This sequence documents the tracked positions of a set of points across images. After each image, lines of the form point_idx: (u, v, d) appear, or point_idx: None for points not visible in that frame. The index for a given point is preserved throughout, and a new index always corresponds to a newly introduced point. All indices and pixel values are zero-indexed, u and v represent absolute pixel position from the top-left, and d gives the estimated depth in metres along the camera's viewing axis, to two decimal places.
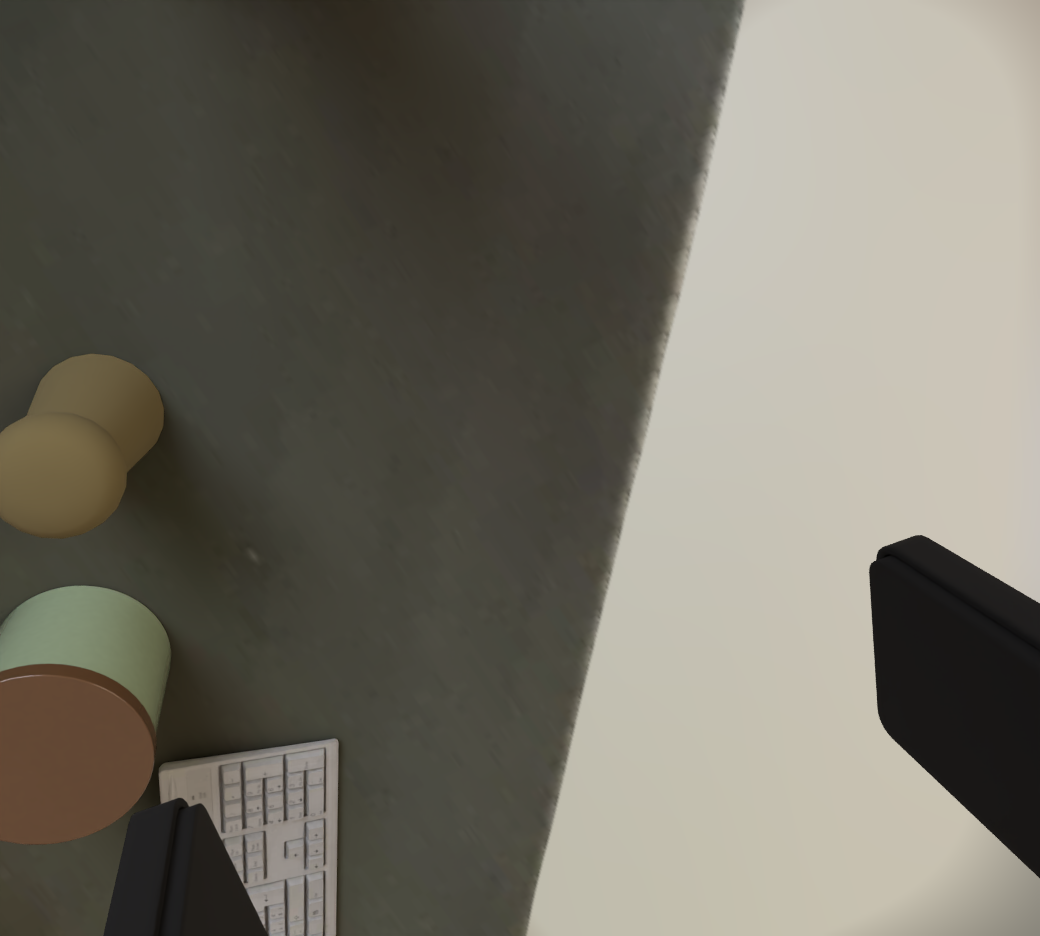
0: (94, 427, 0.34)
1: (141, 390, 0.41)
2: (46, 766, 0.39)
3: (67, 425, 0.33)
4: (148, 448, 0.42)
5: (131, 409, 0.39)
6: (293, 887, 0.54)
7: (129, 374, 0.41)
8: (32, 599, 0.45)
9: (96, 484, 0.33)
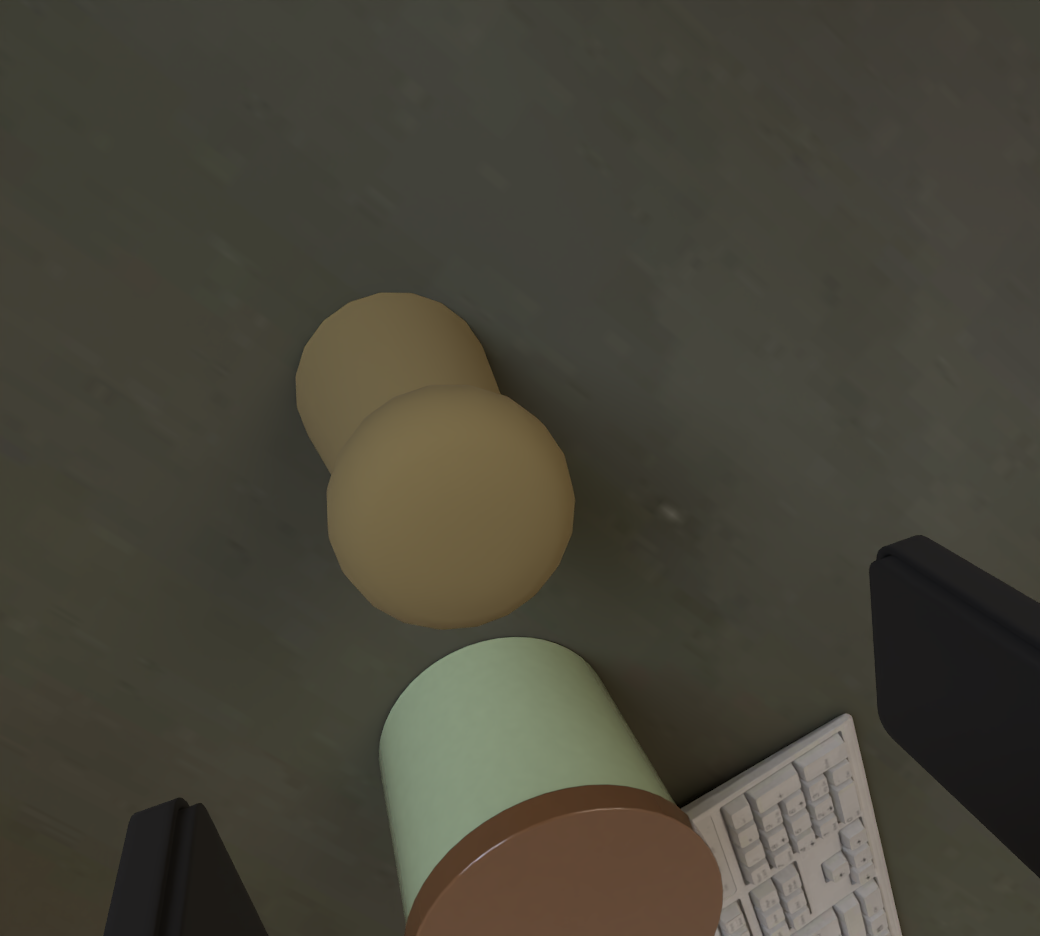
0: (485, 392, 0.17)
1: (453, 324, 0.24)
2: None
3: (450, 406, 0.16)
4: None
5: (469, 355, 0.22)
6: (848, 912, 0.39)
7: (423, 307, 0.24)
8: (407, 693, 0.30)
9: (545, 495, 0.17)
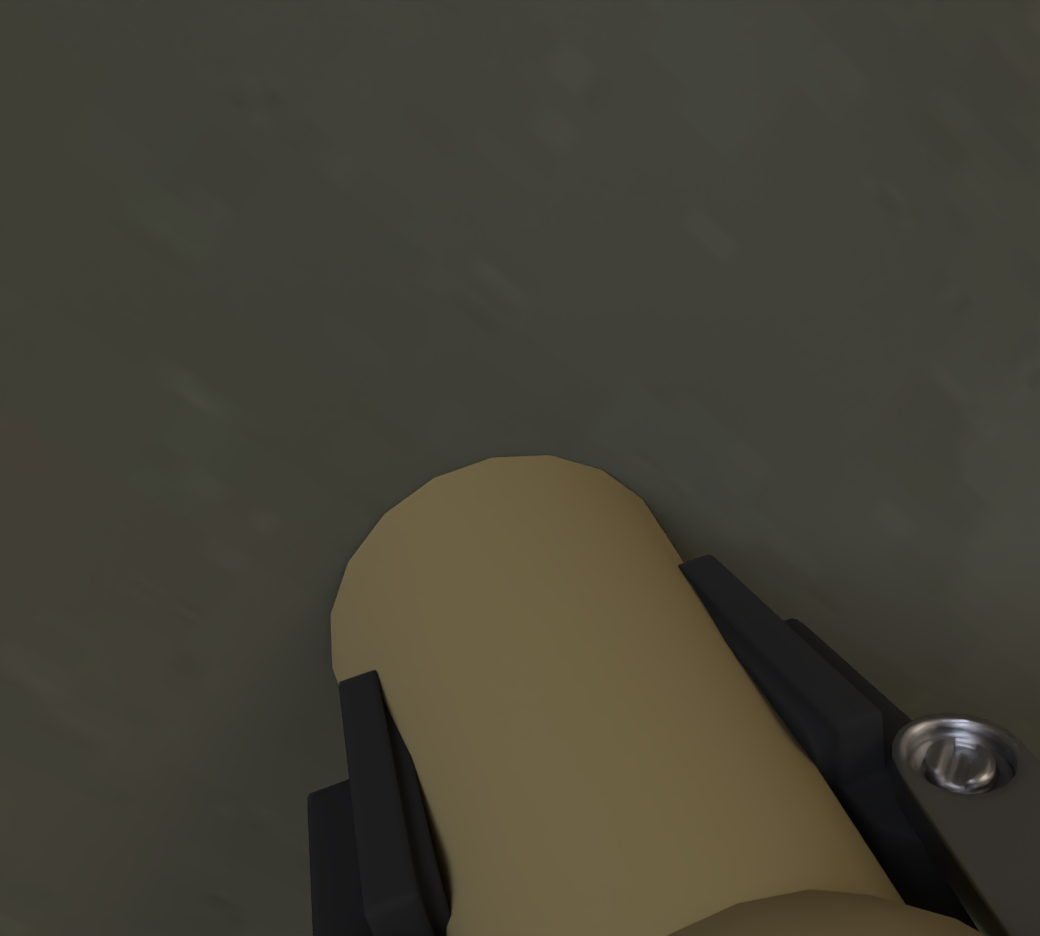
0: None
1: (643, 529, 0.12)
2: None
3: None
4: None
5: (715, 631, 0.10)
6: None
7: (584, 494, 0.12)
8: None
9: None
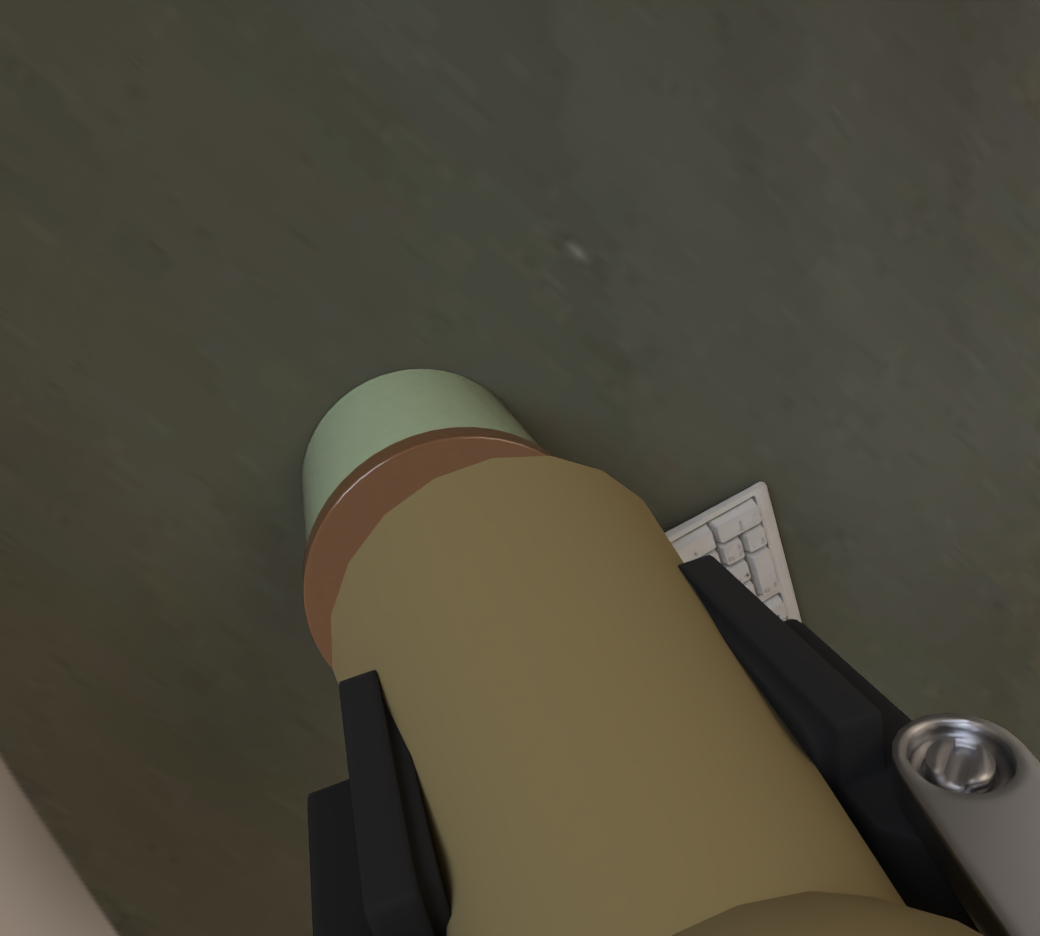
0: None
1: (644, 529, 0.12)
2: None
3: None
4: None
5: (716, 632, 0.10)
6: None
7: (584, 495, 0.12)
8: (326, 416, 0.31)
9: None
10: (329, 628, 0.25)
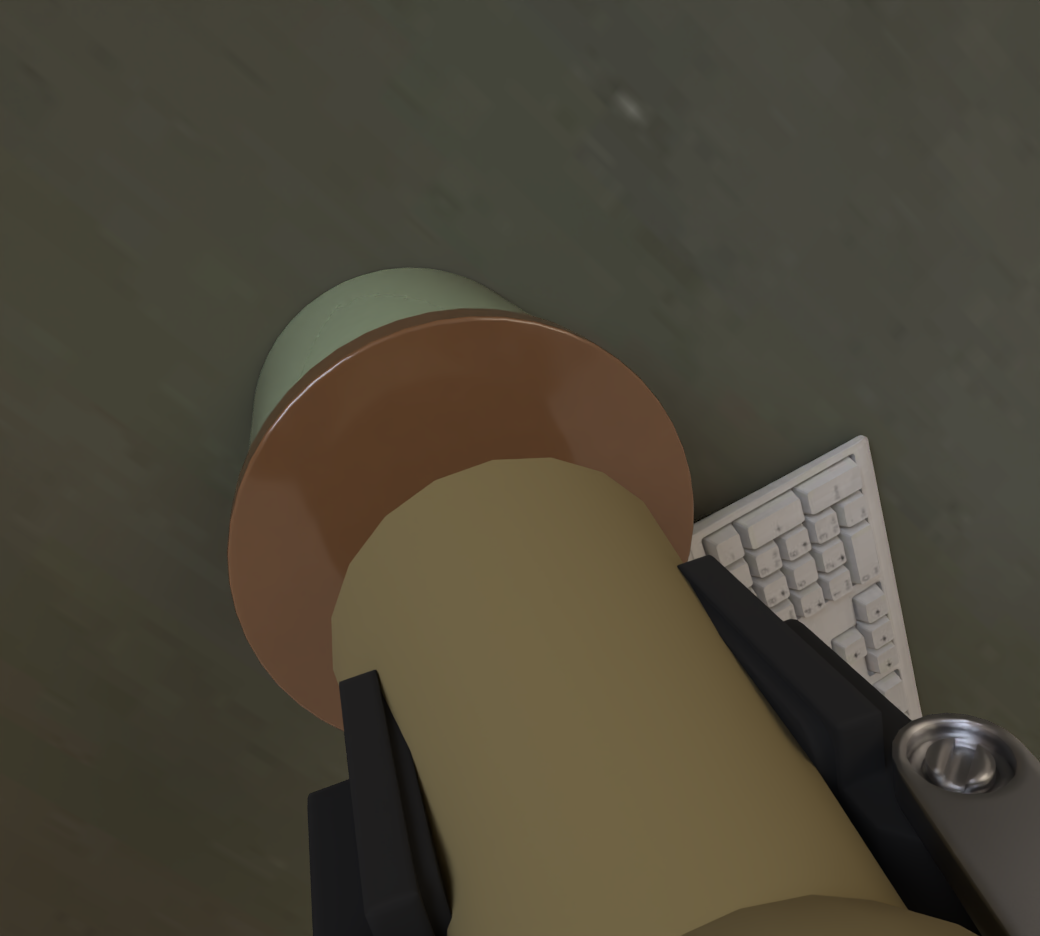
0: None
1: (644, 531, 0.12)
2: None
3: None
4: None
5: (716, 633, 0.10)
6: None
7: (585, 497, 0.12)
8: (284, 331, 0.23)
9: None
10: (270, 621, 0.16)
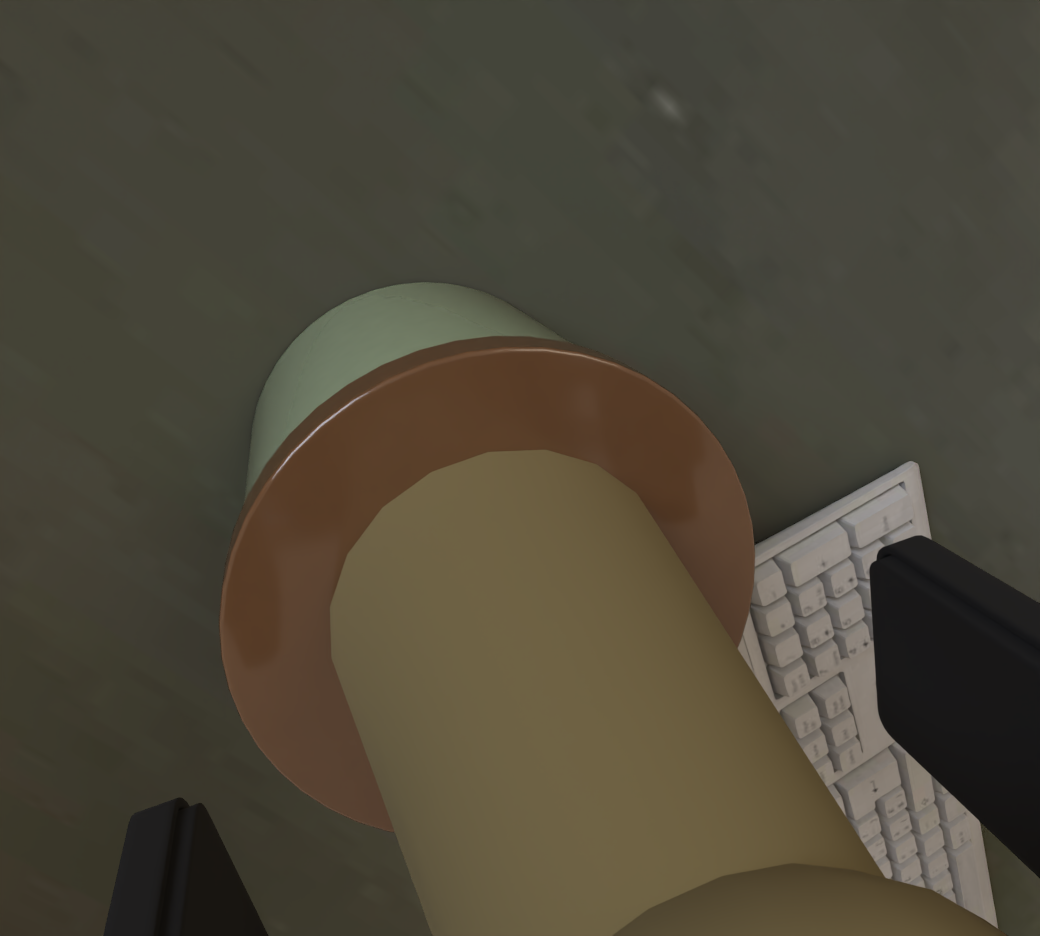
0: None
1: (637, 521, 0.12)
2: None
3: None
4: None
5: (706, 619, 0.10)
6: None
7: (578, 488, 0.13)
8: (286, 353, 0.20)
9: None
10: (270, 700, 0.14)
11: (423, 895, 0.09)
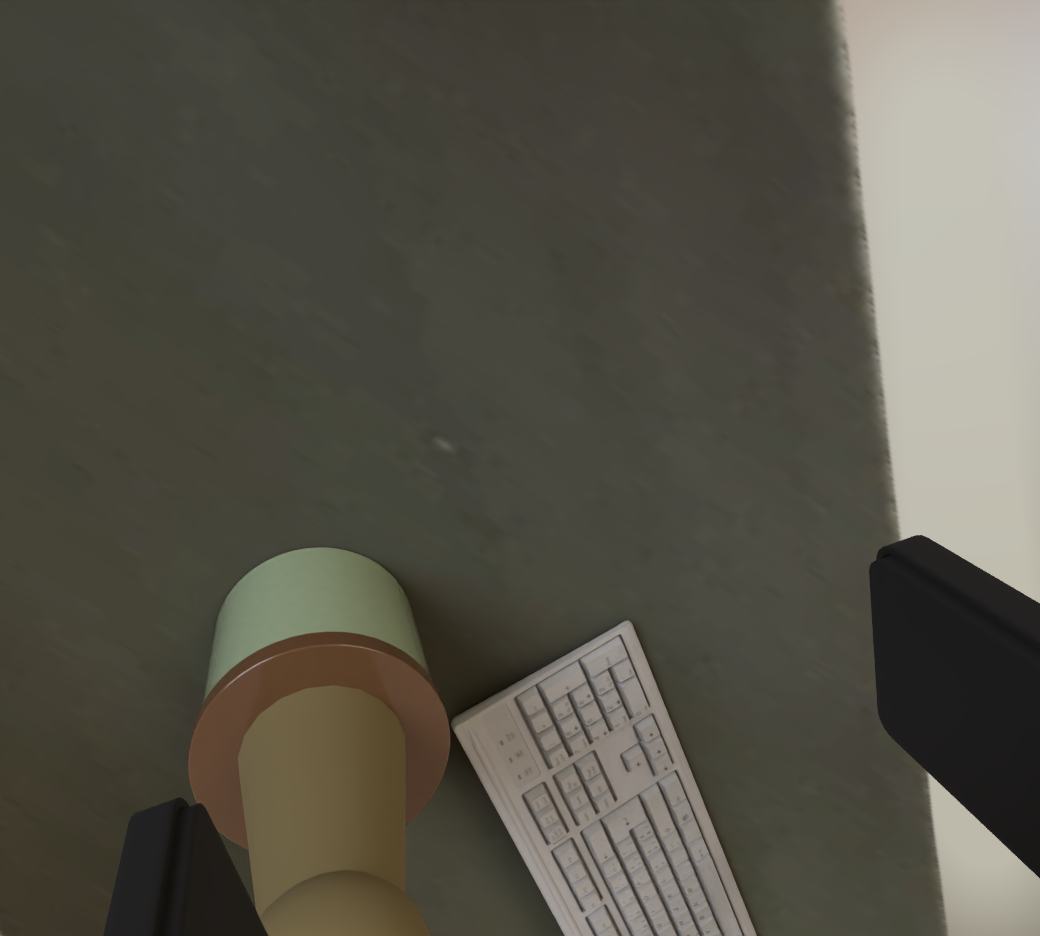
0: (356, 898, 0.22)
1: (364, 723, 0.29)
2: None
3: (323, 929, 0.21)
4: (405, 784, 0.30)
5: (371, 775, 0.27)
6: (650, 799, 0.46)
7: (340, 708, 0.29)
8: (232, 592, 0.37)
9: None
10: (212, 799, 0.30)
11: None
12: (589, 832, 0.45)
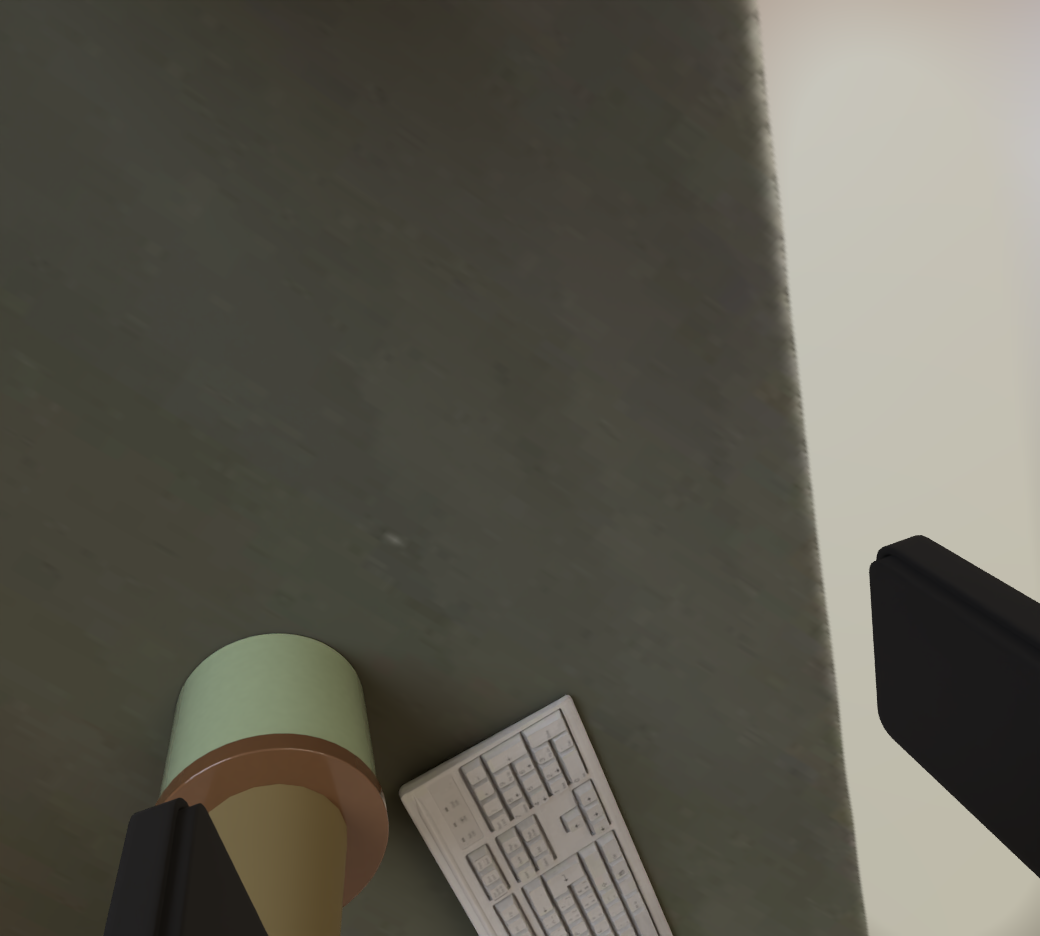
0: None
1: (306, 823, 0.32)
2: None
3: None
4: (344, 875, 0.33)
5: (309, 878, 0.30)
6: (588, 857, 0.49)
7: (284, 809, 0.32)
8: (192, 676, 0.40)
9: None
10: None
11: None
12: (529, 888, 0.48)
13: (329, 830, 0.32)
